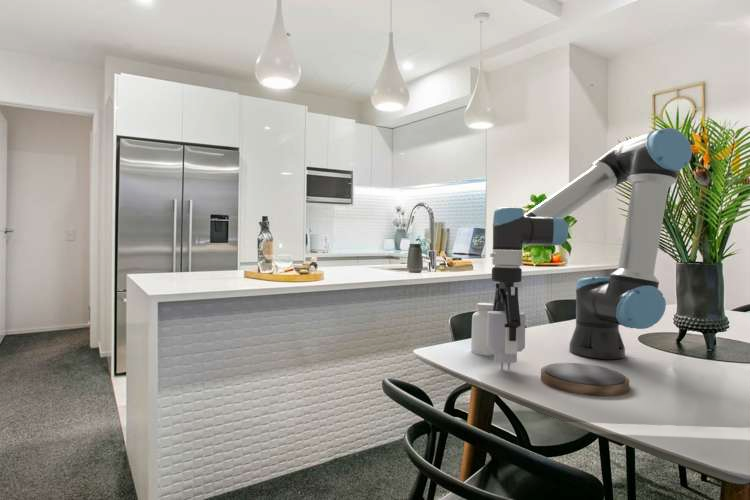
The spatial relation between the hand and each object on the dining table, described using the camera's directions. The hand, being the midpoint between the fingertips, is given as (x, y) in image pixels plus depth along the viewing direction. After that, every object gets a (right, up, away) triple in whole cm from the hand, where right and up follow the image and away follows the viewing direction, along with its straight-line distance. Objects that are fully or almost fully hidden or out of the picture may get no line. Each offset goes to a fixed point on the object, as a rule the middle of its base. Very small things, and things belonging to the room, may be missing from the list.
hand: (504, 347), depth 117 cm
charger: (0, -6, 0) cm, 6 cm away
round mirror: (+16, -6, -11) cm, 20 cm away
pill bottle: (-1, -6, +18) cm, 19 cm away
